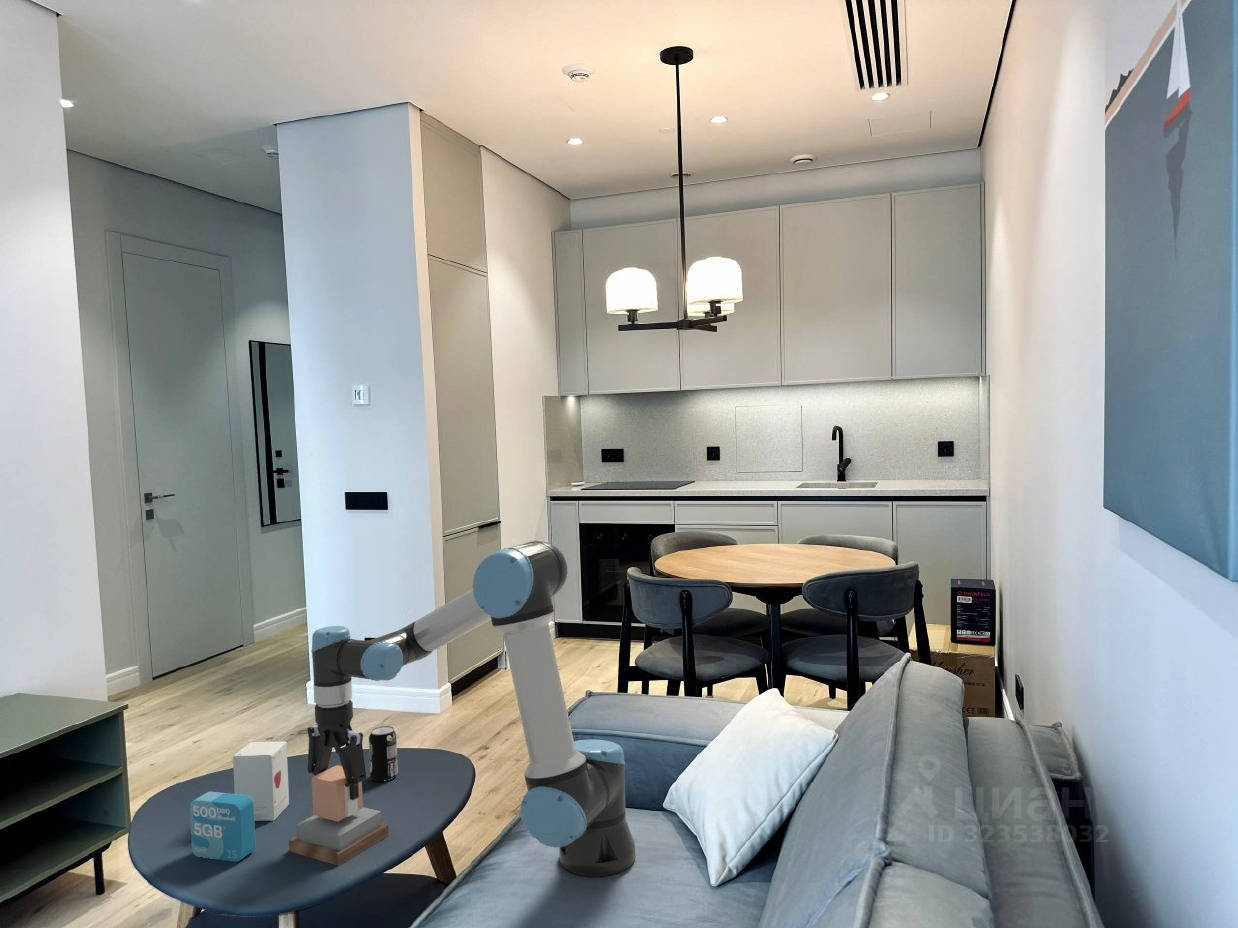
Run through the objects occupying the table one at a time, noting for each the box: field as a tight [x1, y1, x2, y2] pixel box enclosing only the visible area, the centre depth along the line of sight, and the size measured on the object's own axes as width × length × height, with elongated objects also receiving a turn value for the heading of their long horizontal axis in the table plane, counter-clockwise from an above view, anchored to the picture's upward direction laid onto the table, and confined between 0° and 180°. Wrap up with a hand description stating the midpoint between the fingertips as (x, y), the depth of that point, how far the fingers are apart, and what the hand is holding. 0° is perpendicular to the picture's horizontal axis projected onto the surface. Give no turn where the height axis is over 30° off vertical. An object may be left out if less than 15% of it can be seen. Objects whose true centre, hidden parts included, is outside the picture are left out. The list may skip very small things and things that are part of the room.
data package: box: [189, 791, 256, 863], centre depth 179 cm, size 12×4×12 cm, turn 75°
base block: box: [288, 822, 390, 867], centre depth 183 cm, size 14×14×3 cm
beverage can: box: [368, 725, 399, 782], centre depth 217 cm, size 7×7×12 cm
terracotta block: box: [311, 764, 364, 822], centre depth 183 cm, size 7×7×8 cm
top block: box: [295, 806, 383, 850], centre depth 183 cm, size 12×12×3 cm
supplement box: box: [232, 740, 290, 822], centre depth 199 cm, size 9×9×15 cm
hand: (338, 809), depth 183 cm, fingers closed on terracotta block, 7 cm apart
